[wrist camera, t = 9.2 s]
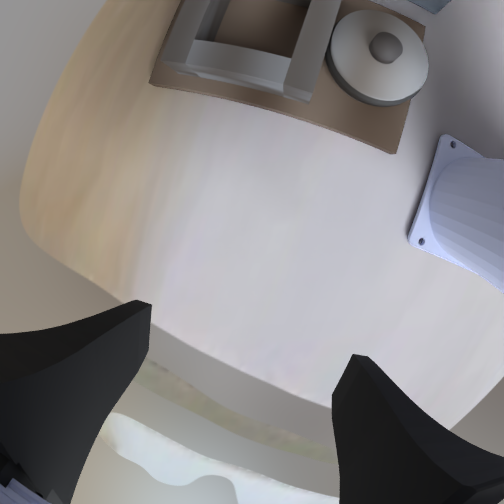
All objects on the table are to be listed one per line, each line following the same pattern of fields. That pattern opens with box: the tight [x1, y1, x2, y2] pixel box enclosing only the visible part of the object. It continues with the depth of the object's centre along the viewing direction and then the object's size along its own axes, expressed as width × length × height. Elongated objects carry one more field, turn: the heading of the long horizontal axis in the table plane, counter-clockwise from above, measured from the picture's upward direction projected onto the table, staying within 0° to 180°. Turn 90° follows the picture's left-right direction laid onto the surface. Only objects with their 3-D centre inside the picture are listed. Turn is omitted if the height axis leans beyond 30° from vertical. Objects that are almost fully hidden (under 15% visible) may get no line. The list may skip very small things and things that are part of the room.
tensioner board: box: [149, 0, 429, 154], centre depth 13 cm, size 16×10×4 cm, turn 74°
